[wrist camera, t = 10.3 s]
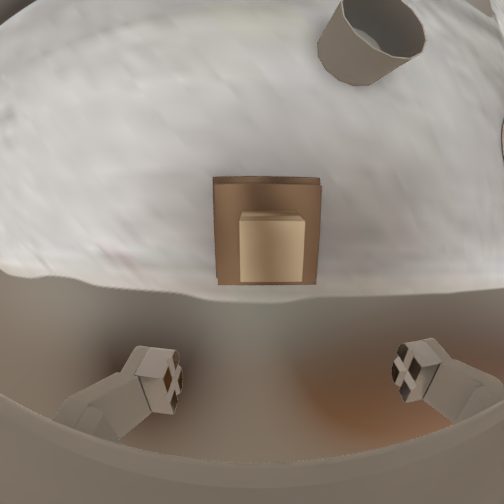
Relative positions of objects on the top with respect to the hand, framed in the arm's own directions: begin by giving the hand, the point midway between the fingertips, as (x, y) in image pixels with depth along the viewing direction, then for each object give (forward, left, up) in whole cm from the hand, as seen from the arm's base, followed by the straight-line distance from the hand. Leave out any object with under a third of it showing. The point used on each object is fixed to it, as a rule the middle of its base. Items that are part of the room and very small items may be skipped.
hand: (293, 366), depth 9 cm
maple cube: (0, 0, -18) cm, 18 cm away
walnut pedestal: (0, 0, -22) cm, 22 cm away
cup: (-10, -21, -22) cm, 32 cm away
